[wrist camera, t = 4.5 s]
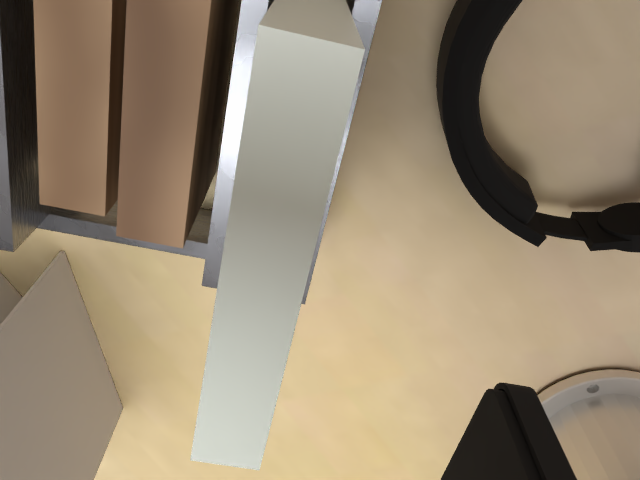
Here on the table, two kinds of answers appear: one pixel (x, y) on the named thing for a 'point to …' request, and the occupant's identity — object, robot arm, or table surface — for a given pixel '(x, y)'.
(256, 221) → the pale grey panel
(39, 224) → the rack
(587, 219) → the headphones
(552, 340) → the table surface
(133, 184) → the offcut tall
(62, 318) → the brochure
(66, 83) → the offcut short
